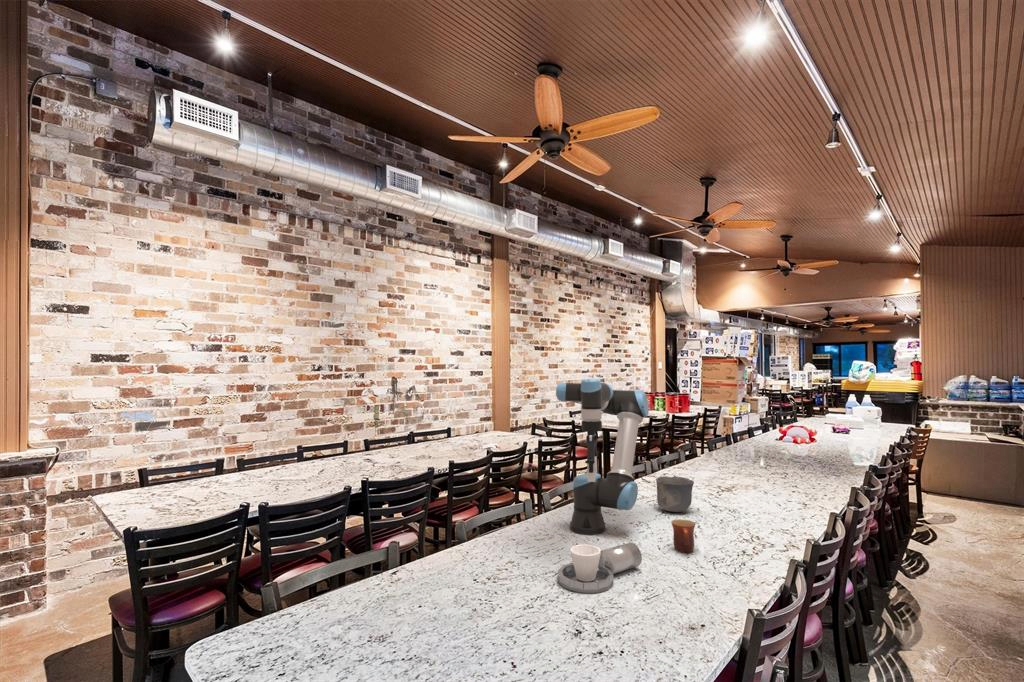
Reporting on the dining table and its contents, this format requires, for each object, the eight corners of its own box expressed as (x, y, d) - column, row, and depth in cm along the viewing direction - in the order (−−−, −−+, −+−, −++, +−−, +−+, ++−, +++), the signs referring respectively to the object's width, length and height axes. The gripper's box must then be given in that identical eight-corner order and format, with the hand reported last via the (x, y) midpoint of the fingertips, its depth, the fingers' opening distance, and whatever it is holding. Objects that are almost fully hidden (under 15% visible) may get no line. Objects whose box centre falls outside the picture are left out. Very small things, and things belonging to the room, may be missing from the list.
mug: (670, 545, 196) (670, 518, 196) (694, 546, 194) (693, 519, 194) (674, 556, 184) (673, 528, 184) (699, 558, 182) (698, 529, 182)
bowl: (699, 509, 242) (698, 478, 243) (690, 519, 228) (689, 486, 228) (662, 504, 252) (661, 474, 253) (651, 513, 237) (651, 481, 238)
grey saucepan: (582, 599, 151) (582, 572, 152) (547, 578, 167) (546, 553, 167) (653, 575, 168) (652, 550, 168) (615, 557, 183) (614, 535, 184)
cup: (573, 570, 170) (573, 542, 170) (603, 574, 167) (602, 546, 167) (567, 582, 160) (567, 553, 161) (598, 587, 157) (598, 557, 158)
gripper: (600, 424, 175) (601, 485, 174) (603, 416, 199) (603, 470, 198) (578, 423, 177) (579, 484, 176) (584, 416, 201) (584, 470, 200)
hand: (592, 477), depth 187 cm, fingers open, 13 cm apart
